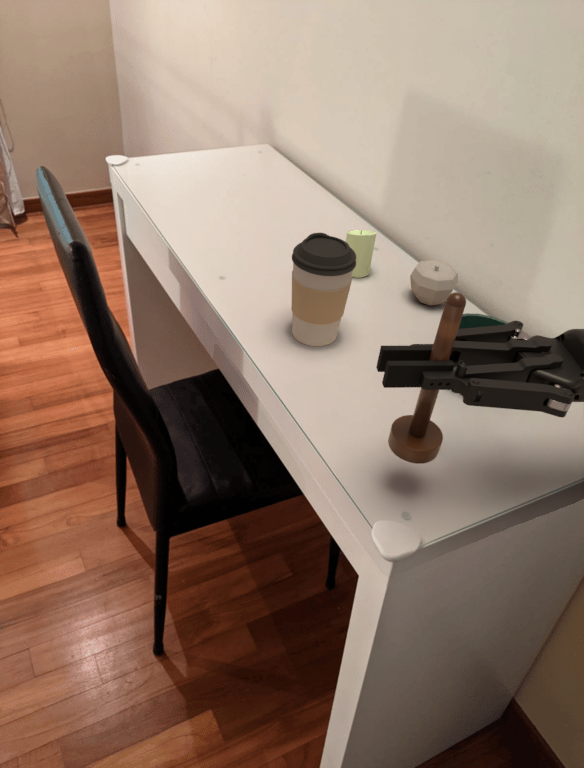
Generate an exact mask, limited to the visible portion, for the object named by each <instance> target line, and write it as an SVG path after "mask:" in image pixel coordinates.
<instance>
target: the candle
mask: <svg viewBox="0 0 584 768" xmlns="http://www.w3.org/2000/svg"><path fill="white" fill-rule="evenodd" d="M376 238H377V232H376V231H373V230H368V229H367V230H366V229H354V230H352V229H351V230H348V231H347V232H346V236H345V242H346V243H347V244H348V245H349V246H350V248H351V249H353V251H354V252H355V254H356V267H355V268H354V269H353V273H352V278H356V279H361V278H365V277H368V276H369V274H370V270H371V264H372V260H373V254H374V249H375V243H376Z"/></svg>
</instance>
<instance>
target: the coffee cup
mask: <svg viewBox="0 0 584 768" xmlns="http://www.w3.org/2000/svg"><path fill="white" fill-rule="evenodd" d="M291 261H292V271H291V315H292V316H291V334H292V336H293V338H294V339H295V340H296V341H297V342H299V343H301V344H303V345H306V346H310V347H323V346H328V345H330V344H332V343H334V342H335V341H336V339H337V337H338V333H339V328H340V324H341V321H342V318H343V316H344V313H345V309H346V305H347V302H348V297H349V293H350V291H351V290H350V289H351V287H352V282H353V277H352V273H353V269H354V268H355V267H356V254H355V252H354V251H353V249H351V248H350V246H349V245H348V244H347V243H346V240H343V239H342V238H339V237H336V236H331V235H329V234H327V233H324V232H313V233H311V234H309V235H307V237H306V238H304V239H303V240H302V241H301V242H299V243H298V244H296V246H294V247H293V250H292V254H291Z"/></svg>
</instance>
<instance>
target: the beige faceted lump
mask: <svg viewBox="0 0 584 768" xmlns="http://www.w3.org/2000/svg"><path fill="white" fill-rule="evenodd" d="M458 274H459V273H458V272H457V271H456V269H454V267H453V266H452V265H450V264H449V263H447V262H444V261H440V260H437V259H426V260H420V261H419V262H418V263H417V265H416V266H415V267H414V269H412V271H411V273H410V276H409V278H410V279H409V280H410V288H411V291H412V293H413V296H414V297H416V299H417V300H418V301H419V302H420V303H421V304H425V305H426V306H439V305H441V304H443V303H445V302H446V299H447V297H448V296H449V295H450V294H451V293H453V290H455V287H456V286H457V284H458V283H459V276H458Z"/></svg>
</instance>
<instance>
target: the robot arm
mask: <svg viewBox="0 0 584 768" xmlns="http://www.w3.org/2000/svg"><path fill="white" fill-rule="evenodd" d="M523 328H524V323H523V322H522V321H521V320H512V321H510V322H507V324H505V325H497V326H486V327H475V328H464V329H458V331H457V334H456V338H455V341H454V344H453V347H452V351H451V354H450V357H449V360H448V361H429V358H430V355H431V351H432V348H433V344H434V343H413V344H410V345H380V348H379V354H378V358H377V362H376V366H375V367H376V371H377V372H378V373H383V377H382V380H381V384H382V387H383V388H385V389H391V388H394V389H395V388H396V389H398V388H399V389H400V388H401V389H402V388H404V389H405V388H420V390H421V389H425V390H439V391H451V392H453V393H454V394H459V395H460V396H462V397H463V398H462V402H463V404H465V405H466V406H470V407H480V408H481V407H482V408H492V409H493V408H495V409H505V410H518V411H527V412H528V411H529V412H541V413H543V414H548V415H551V416H554V417H558V418H565V417H566V416H567V413H568V412H569V409H570V408H571V405H572V404H573V403H584V328H570V329H568V330H565V331H564V332H563V333H561V334H559V335H557V336H555V337H549V336H548V337H547V336H544V335H539V334H538V335H533V336H531V335H530V334H528V333H527V332H525V331H523ZM454 367H457V369H456V371H453V369H454ZM479 392H482V394H481V395H478V394H479Z"/></svg>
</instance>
